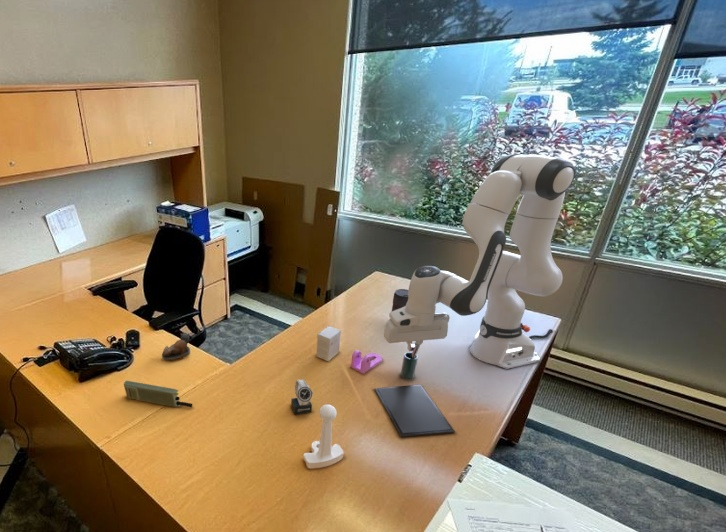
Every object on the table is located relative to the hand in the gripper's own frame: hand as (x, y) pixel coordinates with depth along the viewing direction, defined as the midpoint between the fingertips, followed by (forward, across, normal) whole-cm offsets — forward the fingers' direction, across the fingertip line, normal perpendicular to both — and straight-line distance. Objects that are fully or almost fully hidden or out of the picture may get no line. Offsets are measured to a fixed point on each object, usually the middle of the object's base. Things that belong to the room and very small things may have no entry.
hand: (412, 350), depth 142 cm
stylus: (+11, 0, -1) cm, 11 cm away
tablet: (+11, +6, +17) cm, 21 cm away
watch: (+11, +41, +12) cm, 44 cm away
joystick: (+11, +39, +32) cm, 52 cm away
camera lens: (+12, -12, -36) cm, 39 cm away
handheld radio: (+11, +88, +3) cm, 89 cm away
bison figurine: (+11, +84, -24) cm, 88 cm away
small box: (+12, +24, -17) cm, 32 cm away
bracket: (+12, +11, -9) cm, 18 cm away
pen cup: (+11, 0, 0) cm, 11 cm away
